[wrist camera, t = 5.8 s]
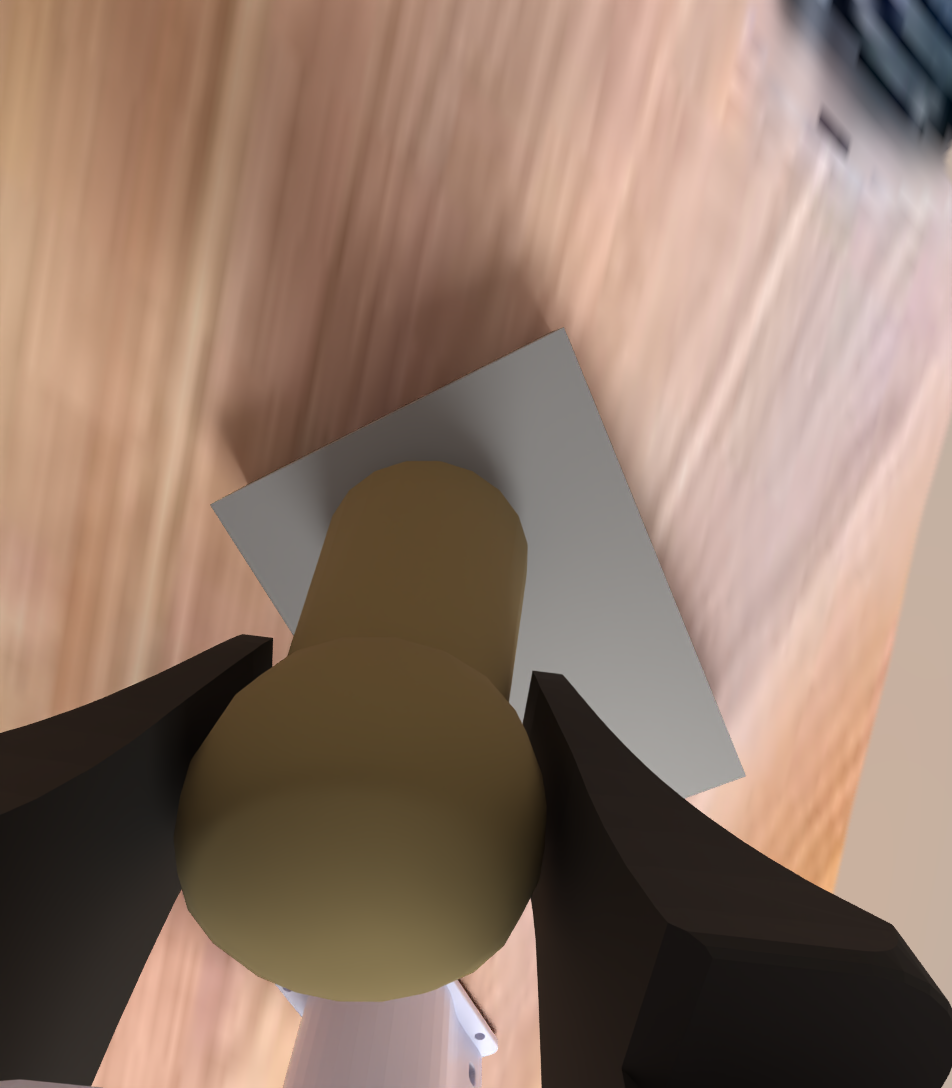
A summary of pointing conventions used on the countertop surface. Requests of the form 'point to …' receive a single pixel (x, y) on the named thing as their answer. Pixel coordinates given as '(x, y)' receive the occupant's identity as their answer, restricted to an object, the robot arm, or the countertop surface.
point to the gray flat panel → (553, 548)
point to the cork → (378, 757)
